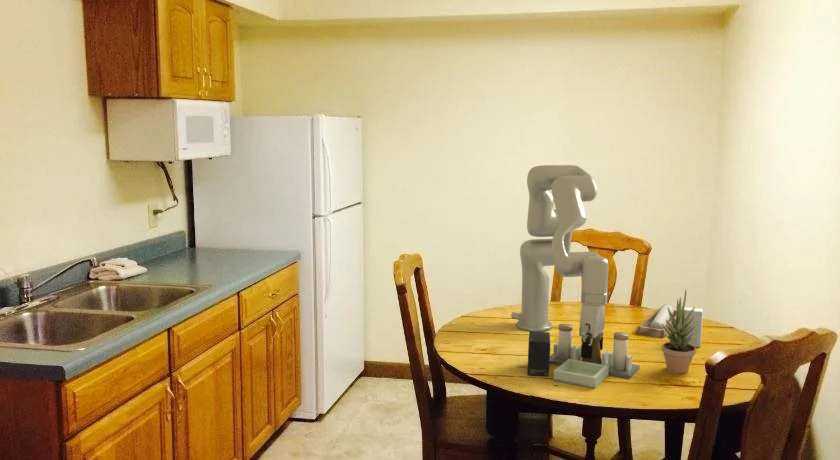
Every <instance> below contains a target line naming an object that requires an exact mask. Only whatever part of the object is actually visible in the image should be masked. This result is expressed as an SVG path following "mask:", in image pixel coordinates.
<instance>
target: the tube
mask: <svg viewBox="0 0 840 460" xmlns="http://www.w3.org/2000/svg"><path fill="white" fill-rule="evenodd" d="M668 307H669V309H670V311H671V313H672V315H674V310H675V308H674V307H672V306H671V304H662V305H661V307H659V308H660V310H659V312H658V313H657V315H656V317H655V318H654V320H653V321H652V323H651V324H650V325H649V328H655V329H663V328H664V327H663V326H662V324H663V325H664V326H666V325H667V322H666V320H667V321H668V322H670V321H671V318H670V315H669V312H668Z"/></svg>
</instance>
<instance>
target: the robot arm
mask: <svg viewBox="0 0 840 460" xmlns="http://www.w3.org/2000/svg"><path fill="white" fill-rule="evenodd" d="M526 184H527V191H528V195H529V201H528V209H527V211H528V212H527V220H526V229H527V230H526V231H527V233H528V234H529V236H532V237H538V238H535V239H528V240H526V241H524V242H522V244H521V245H520V249H519V255H520V262H521V310H520V311H521V312H516V311H512V312H511V319H514V320H518V321H517V322H516V327H517V328H518V329H520V330H524V331H528V332H530V331H537V332H546V331H550V330H552V329H553V323H552V322H550V321H549V309H550V308H549V307H550V305H549V303H550V302H549V301H550V297H549V296H550V278H549V275H548V273H547V272H546V271H545V270H544V267H549V266H554V267H555V270H556V272H557V274H558V275H559V276H561V277H563V278H575V277H581V288H580V289H581V293H580V303H581V308H580V317H579V328H578V329H579V330H578V335H579V336H580V337H581V339H580V341H581V342H580V343H581V345H580V346H581V357H582V358H587V359H592V349H593V346H592V341H593V338H595V337H597V336H598V334H599V333H601V335H602V338H601V340H600V351H602V350H603V348H604V347H603V345H604V330H605V323H606V321H605V320H606V319H605V318H606V316H605V314H606V313H605V308H606V307H605V306H606V305H608V285H609V261H608V258H606V257H604V256H601V255H600V254H599V253H598V252H595V251H571V248H572V238H573V231H575V230H577V229H579V228H581V227H583V226H584V225H585V224H586V222H587V215H586V211H585V208H584V204H583V203H584V202H593V201H594V200H595V199H596V197H597V195H598V186H597V183H596V180H595V178H593V177H592V176H591V174H590V173H588V172H587V171H585V170H584V169H582V168H581V167H580V166H578V165H574V164H572V165H571V164H560V165H559V164H557V165H556V164H548V165H547V164H546V165H545V164H542V165H536V166H533V167H531V168H530V170H529V171H528V173H527V177H526ZM545 237H547V238H545ZM548 237H552V238H548ZM587 334H589V335H587ZM588 338H590V340H588Z"/></svg>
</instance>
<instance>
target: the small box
mask: <svg viewBox="0 0 840 460" xmlns="http://www.w3.org/2000/svg"><path fill="white" fill-rule="evenodd" d="M528 332H529V334H528V345H527V346H528V351H527V352H528V353H527V354H528V355H527V367H526V375H527V376H539V377H549V373H550V365H551V364H550V356H551V335H550V334H551V333H550V331H549V332H546V331H528Z"/></svg>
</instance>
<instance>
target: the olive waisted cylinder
mask: <svg viewBox="0 0 840 460" xmlns="http://www.w3.org/2000/svg"><path fill="white" fill-rule="evenodd" d="M587 335H589V334H587ZM601 338H602V335H601V333H599V334H598V336H597V337H595V338H593V341H592V346H593V349H592V359H587V358H582V361H584V362H590V363H595V364H601V359H602V353H601V350H600V340H601ZM588 340H590V338H588Z"/></svg>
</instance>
